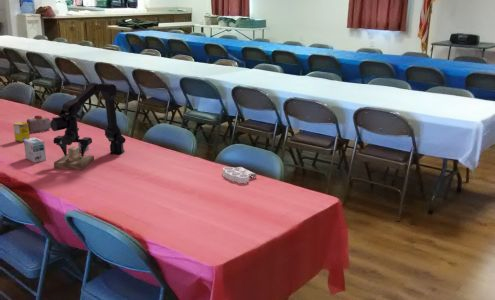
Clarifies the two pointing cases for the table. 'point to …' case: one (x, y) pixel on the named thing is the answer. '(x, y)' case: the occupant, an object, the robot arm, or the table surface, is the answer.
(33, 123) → the grey box with knob
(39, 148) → the light bulb box
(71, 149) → the maple pin
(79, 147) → the metal stub
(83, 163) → the walnut sleeve block
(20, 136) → the supplement box
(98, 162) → the table surface
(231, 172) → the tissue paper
